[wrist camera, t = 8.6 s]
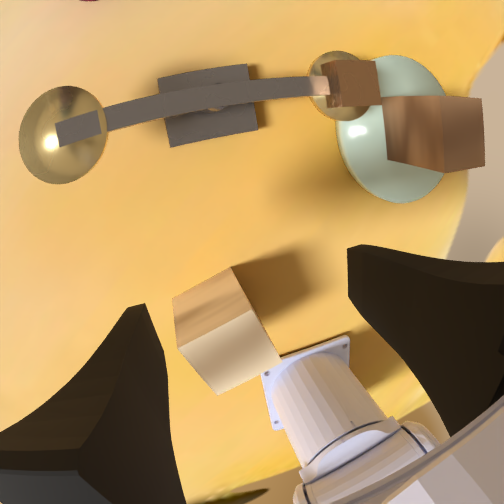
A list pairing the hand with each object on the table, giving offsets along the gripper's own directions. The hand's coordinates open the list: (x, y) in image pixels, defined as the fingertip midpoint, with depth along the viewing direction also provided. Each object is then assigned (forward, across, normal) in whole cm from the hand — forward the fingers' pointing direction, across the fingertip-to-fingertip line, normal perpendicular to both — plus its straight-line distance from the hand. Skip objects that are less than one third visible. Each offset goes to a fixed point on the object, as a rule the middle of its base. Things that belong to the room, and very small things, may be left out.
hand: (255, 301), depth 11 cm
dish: (+10, -14, -4) cm, 18 cm away
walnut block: (+9, -14, -4) cm, 18 cm away
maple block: (+10, +1, +6) cm, 12 cm away
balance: (+10, -1, -7) cm, 12 cm away
